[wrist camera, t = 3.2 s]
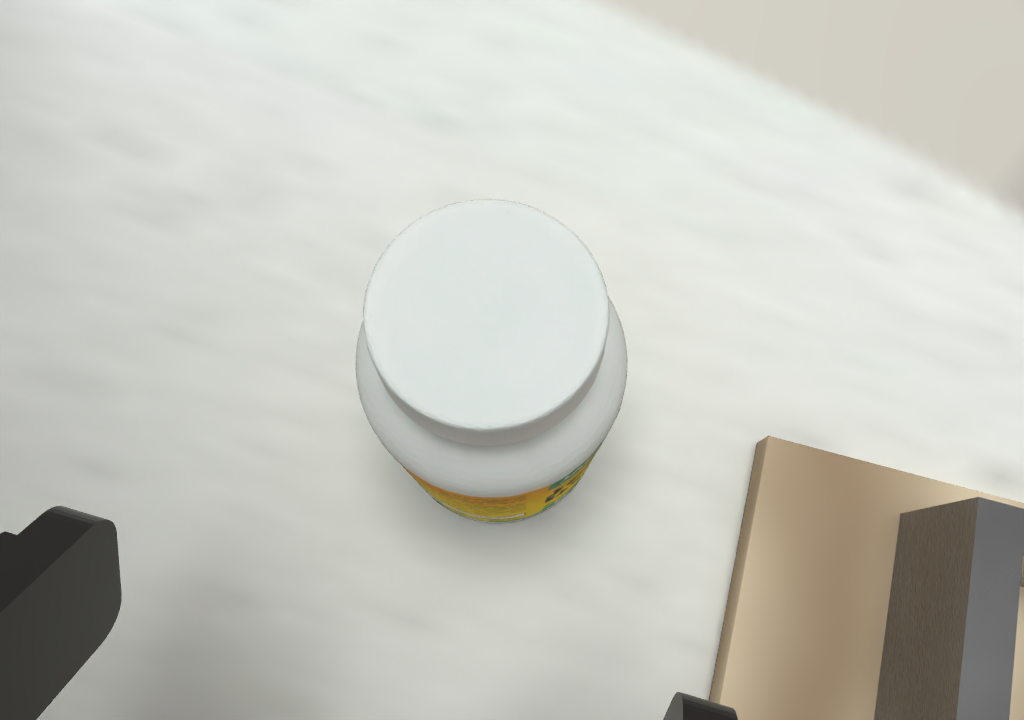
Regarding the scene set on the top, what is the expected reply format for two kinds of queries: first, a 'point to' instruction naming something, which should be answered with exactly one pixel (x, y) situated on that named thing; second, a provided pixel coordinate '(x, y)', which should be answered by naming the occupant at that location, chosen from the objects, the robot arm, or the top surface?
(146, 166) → the top surface
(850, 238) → the top surface
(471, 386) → the supplement bottle
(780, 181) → the top surface
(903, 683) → the metal sleeve
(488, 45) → the top surface
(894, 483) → the birch board
